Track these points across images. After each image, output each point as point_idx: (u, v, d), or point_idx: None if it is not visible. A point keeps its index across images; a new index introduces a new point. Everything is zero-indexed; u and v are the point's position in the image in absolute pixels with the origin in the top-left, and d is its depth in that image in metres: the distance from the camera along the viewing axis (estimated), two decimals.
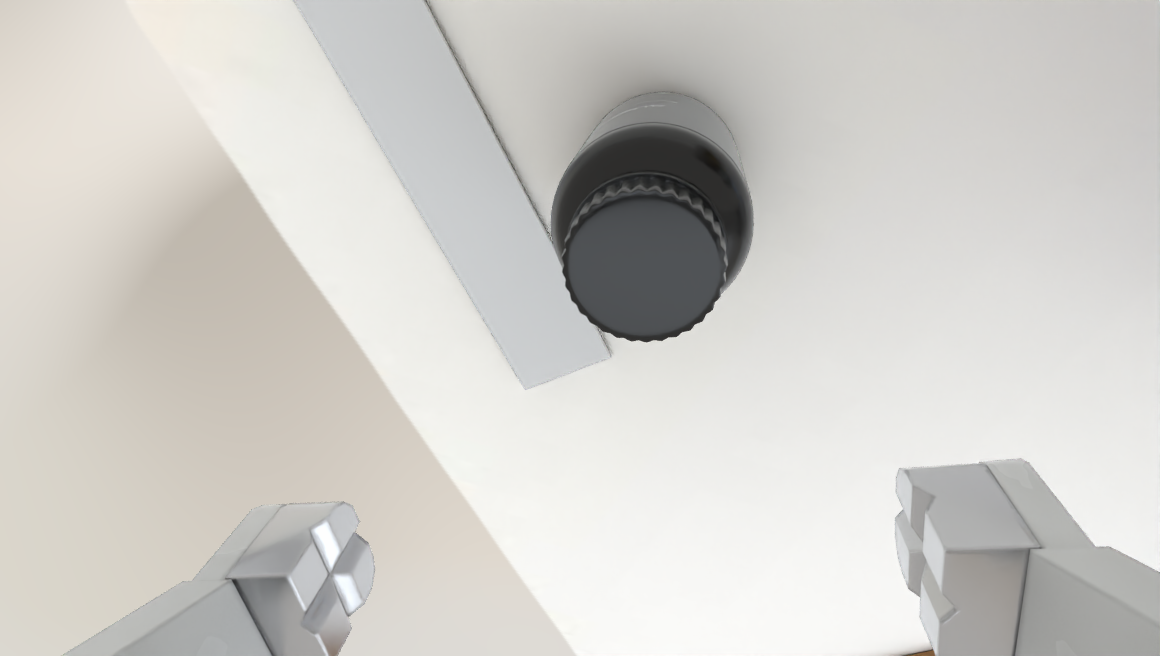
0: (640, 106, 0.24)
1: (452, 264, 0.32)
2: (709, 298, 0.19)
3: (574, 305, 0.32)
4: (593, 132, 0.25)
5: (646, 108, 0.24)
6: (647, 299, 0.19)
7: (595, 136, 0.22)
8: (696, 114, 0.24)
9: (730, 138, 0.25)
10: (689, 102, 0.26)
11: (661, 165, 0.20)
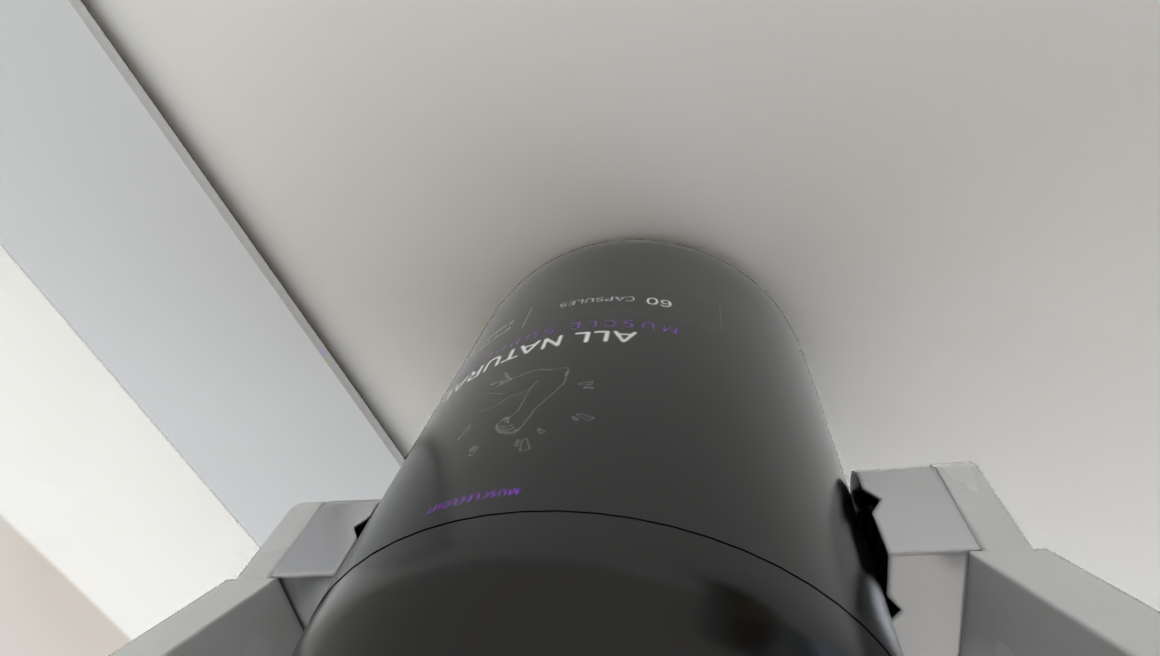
0: (573, 329, 0.09)
1: (245, 527, 0.17)
2: None
3: None
4: (456, 384, 0.10)
5: (584, 352, 0.08)
6: None
7: (417, 482, 0.07)
8: (724, 361, 0.09)
9: (805, 384, 0.10)
10: (701, 288, 0.10)
11: None
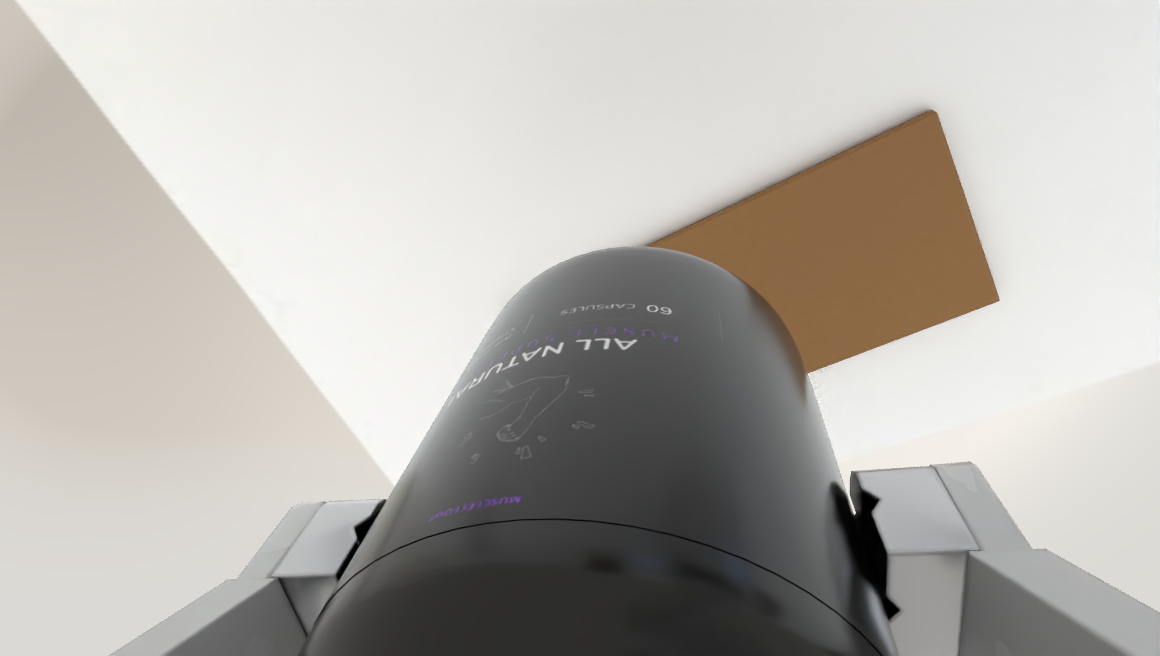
0: (574, 336, 0.09)
1: None
2: None
3: None
4: (458, 390, 0.10)
5: (585, 360, 0.08)
6: None
7: (419, 489, 0.07)
8: (724, 369, 0.09)
9: (805, 391, 0.10)
10: (701, 295, 0.11)
11: None
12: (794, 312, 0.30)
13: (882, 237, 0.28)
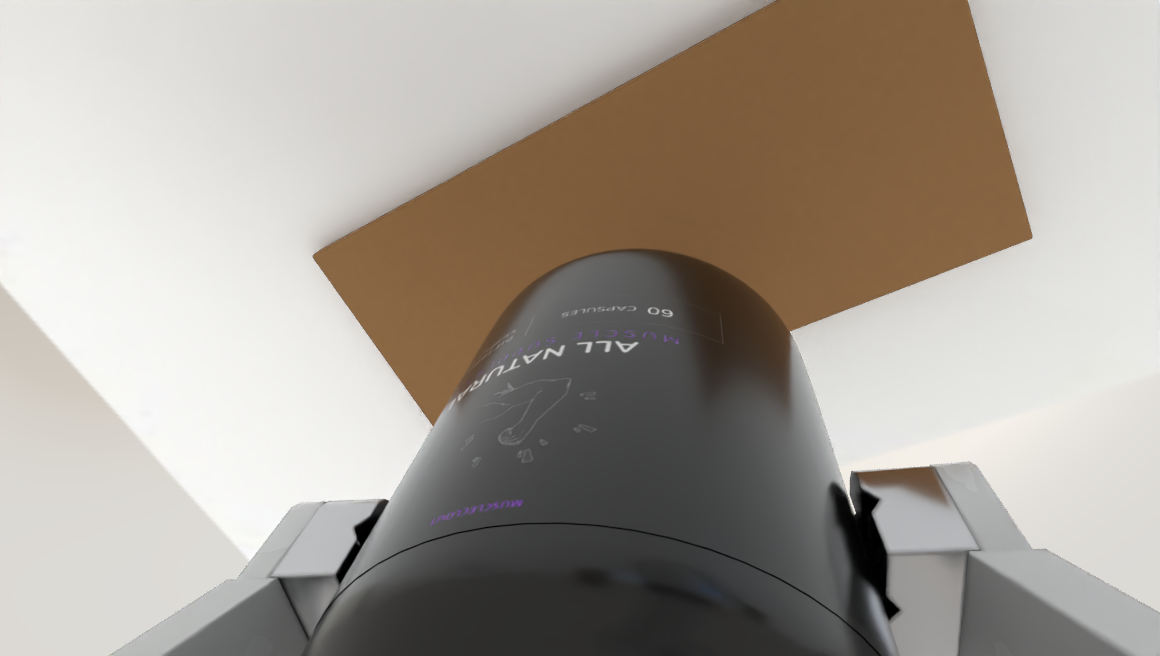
0: (575, 339, 0.09)
1: None
2: None
3: None
4: (459, 393, 0.10)
5: (586, 363, 0.08)
6: None
7: (420, 493, 0.07)
8: (725, 372, 0.09)
9: (806, 393, 0.10)
10: (702, 298, 0.11)
11: None
12: (722, 254, 0.20)
13: (854, 133, 0.18)
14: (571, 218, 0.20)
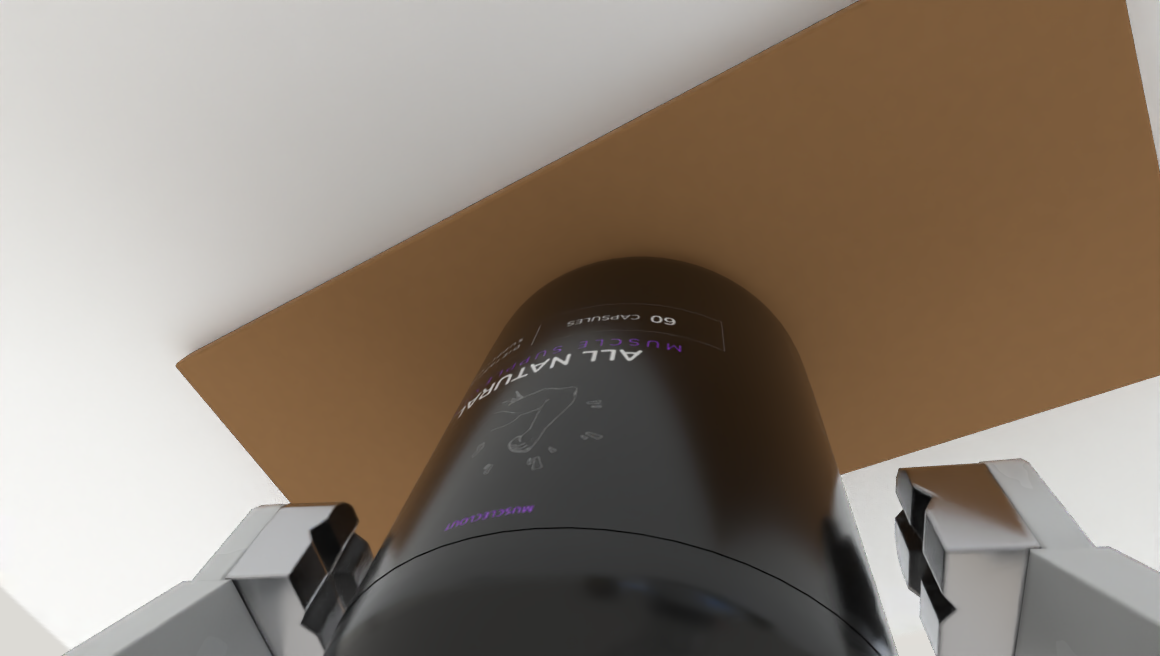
0: (580, 348, 0.09)
1: None
2: None
3: None
4: (469, 401, 0.10)
5: (592, 371, 0.09)
6: None
7: (434, 499, 0.08)
8: (727, 378, 0.09)
9: (806, 398, 0.10)
10: (703, 305, 0.11)
11: None
12: None
13: (940, 214, 0.12)
14: None
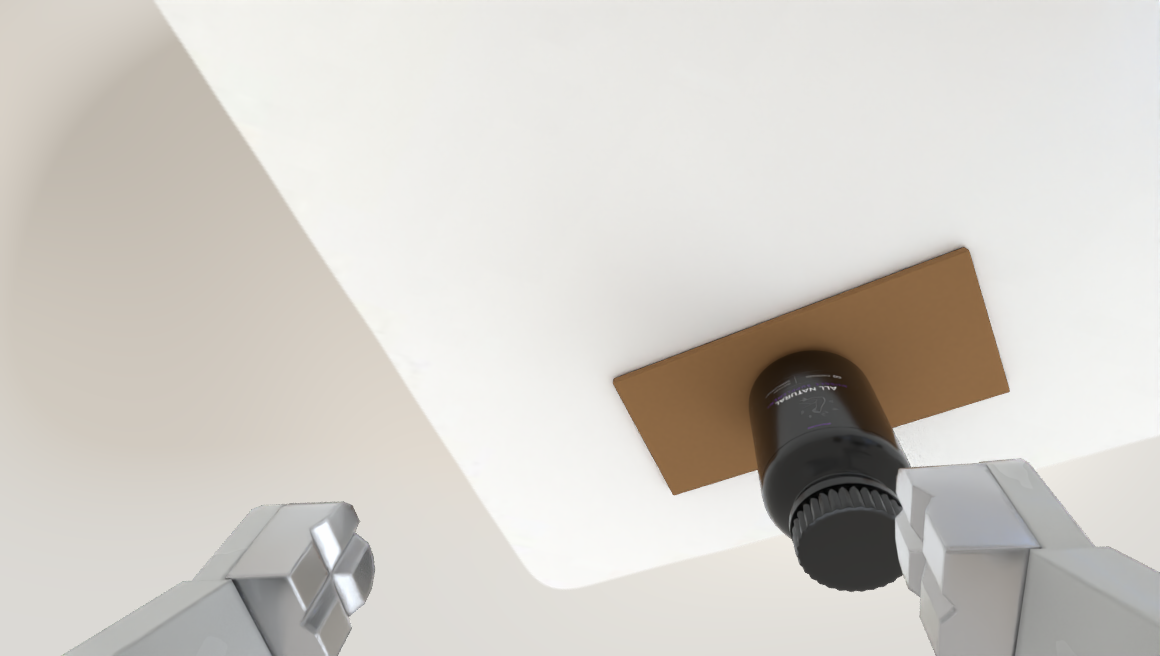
0: (817, 385, 0.33)
1: None
2: None
3: None
4: (779, 400, 0.34)
5: (825, 392, 0.32)
6: (856, 567, 0.28)
7: (796, 423, 0.31)
8: (860, 395, 0.32)
9: (878, 401, 0.34)
10: (845, 371, 0.34)
11: (859, 466, 0.29)
12: None
13: (920, 339, 0.36)
14: None
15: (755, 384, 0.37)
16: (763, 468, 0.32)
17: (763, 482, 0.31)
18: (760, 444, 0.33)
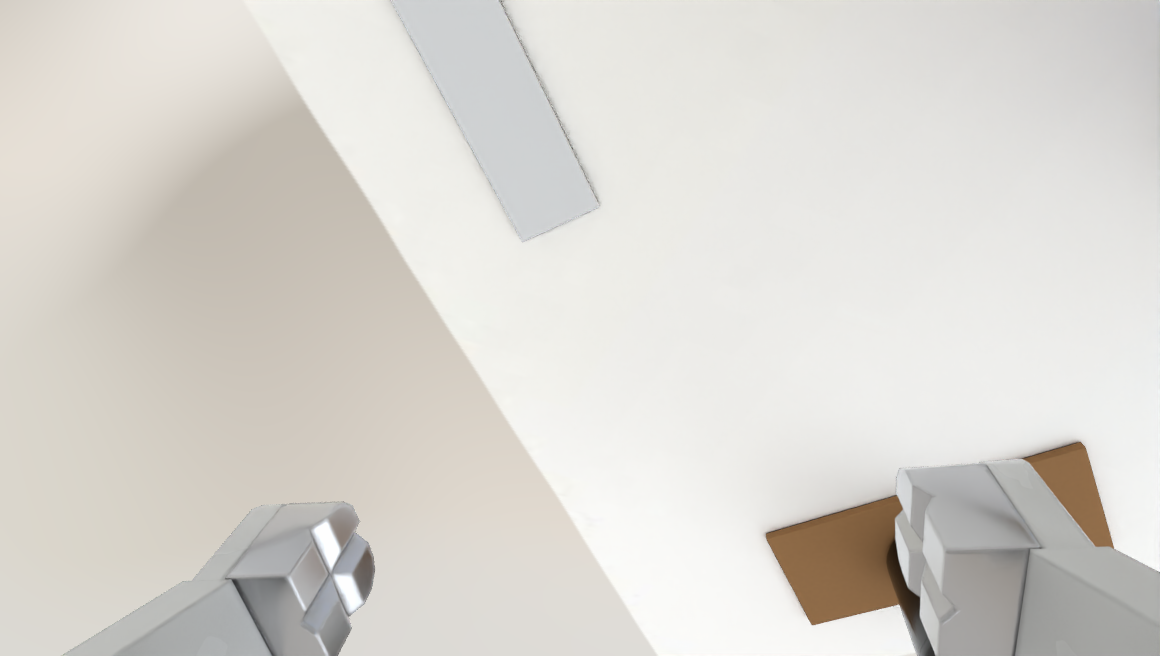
0: None
1: (457, 118, 0.36)
2: None
3: (566, 156, 0.36)
4: None
5: None
6: None
7: None
8: None
9: None
10: None
11: None
12: None
13: None
14: None
15: (895, 546, 0.44)
16: (922, 640, 0.38)
17: (923, 653, 0.38)
18: (913, 614, 0.40)
